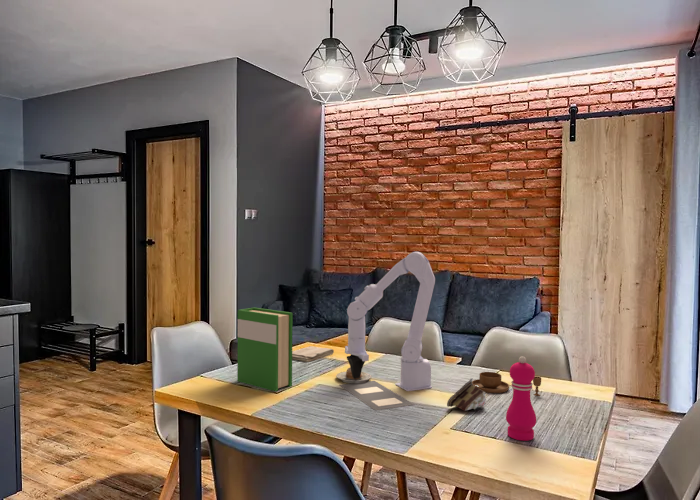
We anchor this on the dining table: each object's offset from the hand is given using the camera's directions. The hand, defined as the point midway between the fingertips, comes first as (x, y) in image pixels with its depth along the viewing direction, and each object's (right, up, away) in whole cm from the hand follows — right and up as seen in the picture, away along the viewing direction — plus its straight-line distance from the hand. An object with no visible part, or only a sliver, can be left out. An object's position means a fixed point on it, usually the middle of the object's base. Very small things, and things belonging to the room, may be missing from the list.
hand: (356, 377), depth 174 cm
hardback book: (-30, -2, -3) cm, 30 cm away
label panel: (+6, -2, -12) cm, 14 cm away
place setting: (+46, -3, -6) cm, 47 cm away
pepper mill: (+41, -4, -44) cm, 60 cm away
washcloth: (-18, -1, +36) cm, 40 cm away
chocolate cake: (+29, -5, -26) cm, 39 cm away
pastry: (-1, -2, +4) cm, 4 cm away
